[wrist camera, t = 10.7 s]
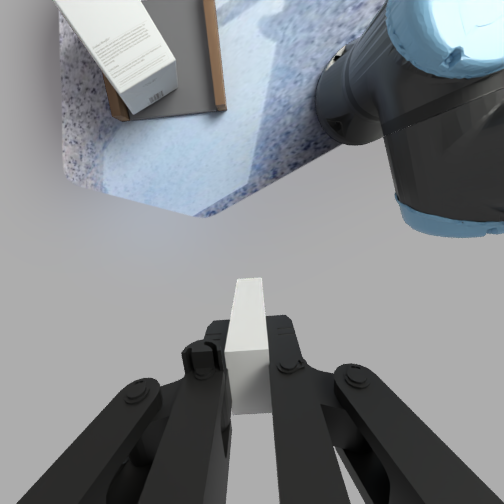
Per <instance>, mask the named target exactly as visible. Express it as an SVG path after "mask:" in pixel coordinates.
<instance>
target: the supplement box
mask: <svg viewBox="0 0 504 504" xmlns="http://www.w3.org/2000/svg"><path fill="white" fill-rule="evenodd" d="M52 1H53V2H54V4H55V5H56V7H57V8H58V10H59V11H60V13H61V14H62V15H63V17H64V18H65V20H66V21H67V22H68V24H69V25H70V27H71V28H72V30H73V31H74V32H75V34H76V35H77V37H78V38H79V39H80V41H81V42H82V44H83V45H84V46H85V48H86V49H87V51H88V52H89V54H90V55H91V56H92V58H93V59H94V61H95V62H96V63H97V65H98V66H99V68H100V69H101V70H102V72H103V73H104V75H105V76H106V77H107V79H108V80H109V82H110V83H111V84H112V86H113V87H114V89H115V90H116V91H117V93H118V94H119V96H120V97H121V98H122V100H123V101H124V103H125V104H126V105H127V107H128V108H129V110H130V111H131V113H132V114H133V115H134V114H136V113H138V112H139V111H141V110H142V109H144V108H146V107H147V106H149V105H151V104H152V103H154V102H155V101H157V100H159V99H160V98H162V97H164V96H165V95H167V94H168V93H170V92H172V91H173V90H175V89H177V88H178V81H177V70H176V59H175V58H174V56H173V54H172V53H171V51H170V49H169V48H168V46H167V44H166V43H165V41H164V39H163V38H162V36H161V34H160V32H159V31H158V29H157V27H156V26H155V24H154V22H153V21H152V19H151V17H150V16H149V14H148V12H147V11H146V9H145V7H144V6H143V4H142V2H141V1H140V0H52Z"/></svg>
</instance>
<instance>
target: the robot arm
mask: <svg viewBox="0 0 504 504" xmlns="http://www.w3.org/2000/svg"><path fill="white" fill-rule="evenodd" d="M315 105H316V112H317V116H318V119H319V122H320V124H321V126H322V127H323V129H324V130H325V131H326V133H327V134H328V135H329V136H330V137H332V138H333V139H334V140H336V141H338V142H340V143H343V144H346V145H363V144H367V143H370V142H372V141H375V140H377V139H380V138H381V137H383V136H384V137H383V138H384V143H385V147H386V151H387V156H388V160H389V164H390V169H391V174H392V178H393V182H394V187H395V191H396V192H395V199H396V201H397V202H398V204H399V206H400V210H401V213H402V217H403V219H404V221H405V222H406V223H407V224H408V225H409V226H411V228H413V229H415V230H416V231H419V232H422V233H425V234H429V235H434V236H441V237H456V238H469V237H482V236H485V235H486V233H489V234H502V233H504V0H386V1H385V3H384V4H383V6H382V7H381V8H380V10H379V11H378V13H377V14H376V16H375V17H374V18H373V20H372V21H371V23H370V24H369V26H368V27H367V28H366V30H365V31H364V33H363V34H362V36H361V37H359V38H357V39H355V40H353V41H351V42H349V43H348V44H346V45H345V46H343V47H342V48H341V49H340V50H339V51H338V52H337V53H336V54H335V55H334V56H333V57H332V58H331V60H330V61H329V63H328V64H327V66H326V68H325V69H324V71H323V73H322V75H321V77H320V79H319V82H318V85H317V89H316V97H315ZM410 125H411V126H410ZM405 127H406V128H405ZM398 130H399V131H398ZM393 132H394V133H393ZM181 354H182V359H183V364H184V370H185V376H184V378H182V379H180V380H178V381H176V382H174V383H170V384H167V385H164V386H160V384H159V383H158V381H157V380H155V379H153V378H143V379H139V380H136V381H134V382H132V383H130V384H129V385H127V386H126V387H125V388H123V389H122V390H121V391H120V392H119V393H118V394H117V395H116V396H115V398H113V400H112V401H111V402H110V403H109V404H108V405H107V406H106V407H105V409H103V411H101V413H100V414H99V415H98V416H97V417H96V418H95V419H94V420H93V421H92V422H91V423H90V424H89V426H88V427H87V428H86V429H85V430H84V431H83V432H82V433H81V434H80V435H79V436H78V437H77V439H76V440H75V441H74V442H73V443H72V444H71V445H70V446H69V447H68V448H67V449H66V450H65V451H64V453H63V454H62V455H61V456H60V457H59V458H58V459H57V460H56V461H55V462H54V463H53V465H52V466H51V467H50V468H49V469H48V470H47V471H46V472H45V473H44V474H43V475H42V477H40V479H39V480H38V481H37V482H36V483H35V484H34V485H33V486H32V487H31V488H30V489H29V490H28V492H27V493H26V494H25V495H24V496H23V497H22V498H21V499H20V500H19V501H18V502H17V504H226V493H227V481H228V470H229V458H230V447H231V435H232V427H231V419H230V417H231V408H232V413H233V415H240V414H257V413H272V415H273V427H274V440H275V452H276V464H277V477H278V489H279V501H280V504H351V503H350V500H349V497H348V494H347V490H346V487H345V484H344V480H343V478H342V474H341V471H340V467H339V464H338V461H337V458H336V454H335V451H334V448H333V446H335V448H336V451H337V453H338V454H339V456H340V458H341V460H342V462H343V463H344V465H345V467H346V469H347V471H348V472H349V474H350V476H351V478H352V480H353V482H354V483H355V485H356V487H357V489H358V491H359V493H360V494H361V496H362V498H363V500H364V502H365V504H504V503H503V502H502V500H501V499H499V497H498V496H497V495H495V493H494V492H493V491H492V490H490V488H488V487H487V485H486V484H485V483H484V482H483V481H482V480H481V479H479V477H477V475H476V474H475V473H474V472H473V471H472V470H471V469H470V468H468V466H467V465H466V464H465V463H464V462H463V461H462V460H461V459H460V458H459V457H457V455H456V454H455V453H454V452H453V451H452V450H451V449H450V448H449V447H448V446H447V445H446V444H445V443H444V442H443V441H442V440H441V439H440V438H439V437H438V436H437V435H436V434H435V433H434V432H433V431H432V430H431V429H430V428H429V427H428V426H427V425H426V424H425V423H424V422H423V421H422V420H421V419H420V418H419V417H418V416H417V415H416V414H415V413H414V412H413V411H412V410H411V409H410V408H409V407H408V406H407V405H406V404H405V403H404V402H403V401H402V400H401V399H400V398H399V397H397V395H396V394H395V393H394V392H393V391H392V390H391V389H390V388H389V387H388V386H387V385H386V384H385V383H384V382H383V381H382V380H381V379H380V378H379V377H378V376H377V375H376V374H375V373H373V372H372V371H371V370H369V369H368V368H366V367H363V366H361V365H357V364H343V365H341V366H339V367H338V368H337V369H336V370H335V372H334V374H333V373H328V372H323V371H319V370H316V369H314V368H312V367H311V366H309V365H308V364H307V362H306V361H305V360H304V359H303V357H302V354H301V351H300V348H299V344H298V341H297V337H296V334H295V330H294V328H293V324H292V320H291V319H290V318H289V317H287V316H286V315H277V316H265V306H264V296H263V285H262V278H261V277H260V278H247V279H238V280H237V284H236V290H235V295H234V301H233V306H232V312H231V318H230V320H217V321H213V322H212V323H211V324H210V325H209V326H208V327H207V330H206V334H205V337H204V339H203V340H198V341H196V342H193V343H191V344H190V345H188V346H187V347H185V349H184V350H183V352H182V353H181Z"/></svg>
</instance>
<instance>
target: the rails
mask: <svg viewBox="0 0 504 504" xmlns="http://www.w3.org/2000/svg"><path fill="white" fill-rule="evenodd" d="M203 4H204V12H205V20H206V28H207V37H208V45H209V53H210V62H211V70H212V78H213V86H214V95H215V103H216V107H217V109H218V111H224V110H227V106H226V97H225V88H224V79H223V70H222V61H221V52H220V43H219V34H218V25H217V15H216V6H215V0H203ZM102 74H103V78H104V83H105V87H106V92H107V96H108V100H109V105H110V109H111V114H112V117H114V118H116V119H118V120H120V121H122V122H123V121H130V116H129V112H128V107H127V105H126V104H125V103H124V101H123V100H122V98H121V97H120V96H119V94H118V93H117V91H116V90H115V89H114V87H113V86H112V84H111V83H110V82H109V80H108V79H107V77H106V76H105V75H104V73H103V72H102Z"/></svg>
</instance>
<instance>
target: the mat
mask: <svg viewBox="0 0 504 504" xmlns="http://www.w3.org/2000/svg"><path fill="white" fill-rule="evenodd" d="M141 2H142V4H143V6H144V7H145V9H146V11H147V12H148V14H149V16H150V17H151V19H152V21H153V22H154V24H155V26H156V27H157V29H158V31H159V32H160V34H161V36H162V38H163V39H164V41H165V43H166V44H167V46H168V48H169V49H170V51H171V53H172V54H173V56H174V58H175V59H176V70H177V81H178V88H177V89H175V90H173V91H172V92H170V93H168V94H167V95H165V96H164V97H162V98H160V99H159V100H157V101H155V102H154V103H152V104H151V105H149V106H147V107H146V108H144V109H142V110H141V111H139V112H138V113H136V114H134V115H133V114H132V113H131V111H130V110H129V108H128V112H129V116H130V120H141V119H150V118H159V117H169V116H178V115H187V114H196V113H206V112H215V111H217V108H216V103H215V95H214V86H213V78H212V70H211V62H210V53H209V45H208V37H207V28H206V20H205V12H204V4H203V0H142V1H141Z"/></svg>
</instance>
